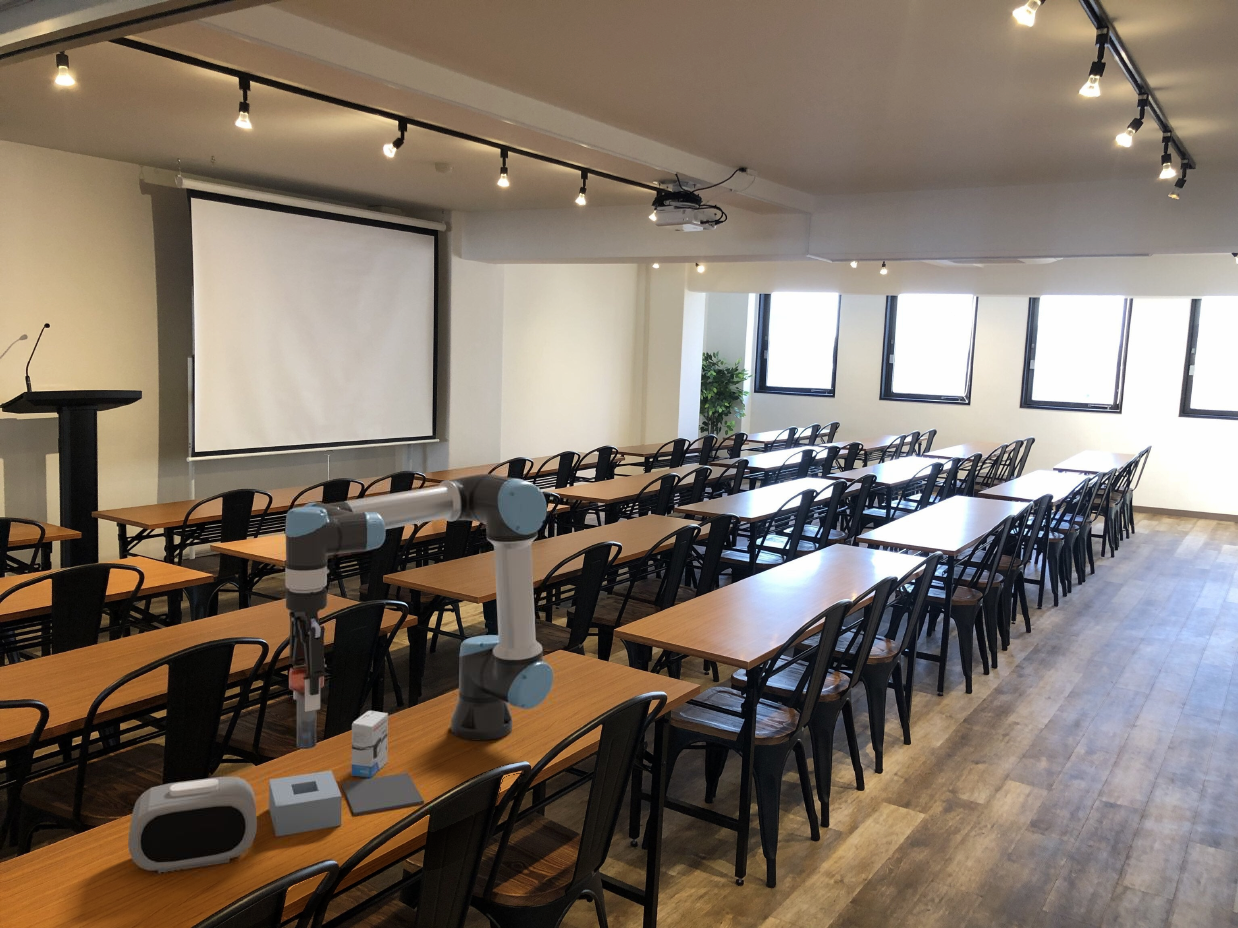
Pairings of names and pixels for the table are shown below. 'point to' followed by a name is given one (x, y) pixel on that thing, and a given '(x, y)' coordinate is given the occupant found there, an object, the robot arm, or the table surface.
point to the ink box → (369, 743)
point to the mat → (381, 793)
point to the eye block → (304, 803)
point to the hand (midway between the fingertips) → (306, 703)
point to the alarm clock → (192, 824)
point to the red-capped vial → (303, 709)
